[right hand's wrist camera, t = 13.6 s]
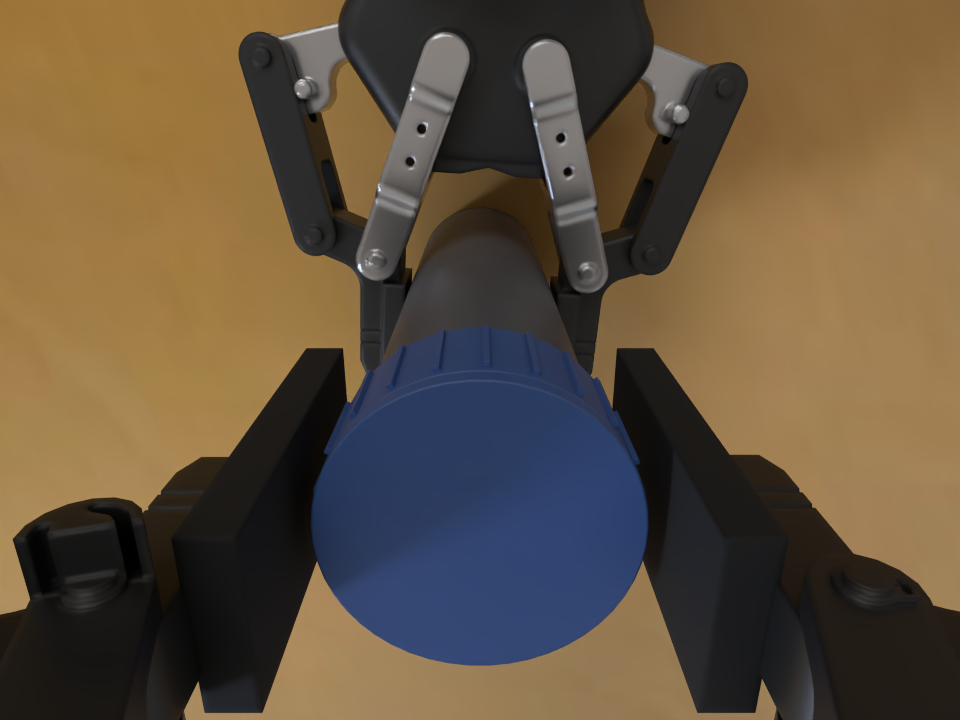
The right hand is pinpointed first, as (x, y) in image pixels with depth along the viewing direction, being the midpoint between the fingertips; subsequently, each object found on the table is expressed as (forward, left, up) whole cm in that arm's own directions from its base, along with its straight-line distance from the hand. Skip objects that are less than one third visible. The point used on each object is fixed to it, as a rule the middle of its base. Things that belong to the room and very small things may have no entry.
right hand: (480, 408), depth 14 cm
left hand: (-2, +2, -7) cm, 8 cm away
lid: (0, 0, +4) cm, 4 cm away
